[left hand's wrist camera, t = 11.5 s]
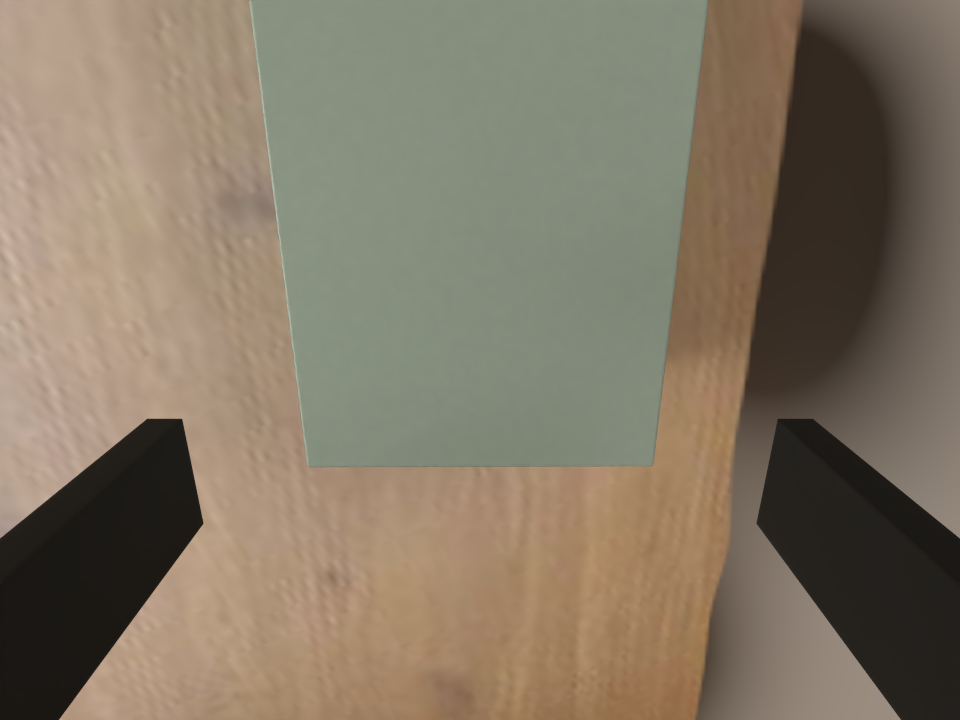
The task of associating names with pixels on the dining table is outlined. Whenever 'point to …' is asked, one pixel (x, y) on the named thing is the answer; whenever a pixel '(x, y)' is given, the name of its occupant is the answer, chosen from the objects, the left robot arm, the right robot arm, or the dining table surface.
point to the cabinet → (479, 222)
